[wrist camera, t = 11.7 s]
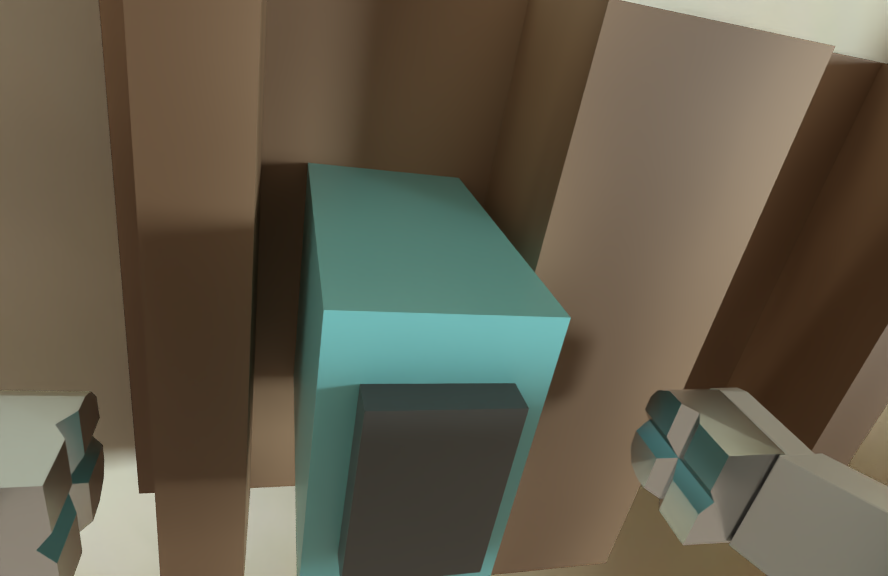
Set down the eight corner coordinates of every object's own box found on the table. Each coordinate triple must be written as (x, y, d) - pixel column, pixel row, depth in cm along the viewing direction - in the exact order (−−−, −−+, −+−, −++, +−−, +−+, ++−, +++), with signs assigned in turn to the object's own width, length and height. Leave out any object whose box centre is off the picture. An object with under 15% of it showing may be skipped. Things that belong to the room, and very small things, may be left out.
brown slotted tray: (904, 69, 15) (1118, 106, 11) (722, 431, 20) (824, 540, 16) (115, -94, 10) (6, -131, 6) (151, 448, 15) (106, 613, 11)
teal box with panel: (458, 178, 12) (588, 339, 7) (421, 376, 14) (498, 612, 9) (308, 162, 11) (326, 334, 6) (293, 376, 13) (297, 636, 8)
